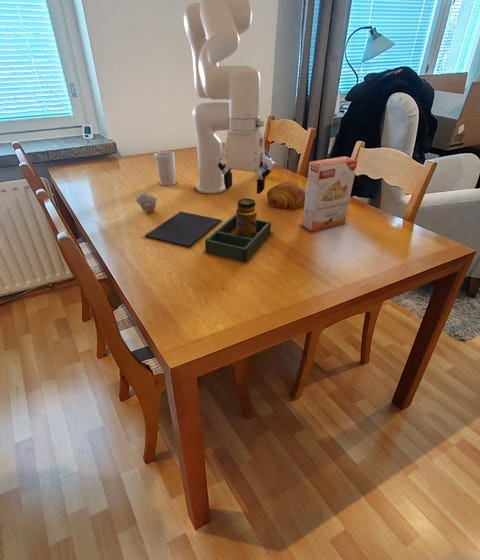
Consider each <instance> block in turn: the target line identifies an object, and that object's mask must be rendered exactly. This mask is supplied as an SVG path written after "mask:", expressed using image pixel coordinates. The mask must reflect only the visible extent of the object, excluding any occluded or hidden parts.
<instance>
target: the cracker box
mask: <svg viewBox="0 0 480 560" xmlns="http://www.w3.org/2000/svg"><path fill="white" fill-rule="evenodd" d="M357 166H358V161H357V160H356V159H354V158H351V157H348V156H338V157H333V158H327V159H319V160H312V161H309V164H308V171H307V179H306V188H305V191H306V195H305V203H304V204H303V213H302V219H301V226H303V227H304V228H306V229H307V230H308V231H310V232H316V231H320V230H324V229H327V228H328V229H329V228H331V227H332V228H333V227H335V226H340V225H344V224H345V223H346V220H347V215H348V209H349V205H350V200H351V196H352V195H351V194H352V190H353V185H354V179H355V176H356V175H355V174H356V170H357Z"/></svg>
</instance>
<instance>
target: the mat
mask: <svg viewBox="0 0 480 560" xmlns="http://www.w3.org/2000/svg"><path fill="white" fill-rule="evenodd" d="M221 222H222V219H219V218H214V217H208V216H205V215H199V214H195V213H191V212H185V211H179V212H178V213H176V214H175V215H173V216H172V217H170V218H169V219H168V220H165V221H164V222H163V223H161V224H160V225H158V226H157V227H156V228H154V229H152V230H151V231H149V232H148V233H146V234H145V235H144V237H145V238H148V239H153V240H156V241H161V242H164V243H168V244H172V245H175V246H176V245H177V246H181V247H184V248H189V249H190V248H191V247H192V246H193V245H195V243H197V242H198V241H199V240H201V239H202V238H203V237H204V236H205V235H206V234H208V233H209V232H210V231H211V230H212V229H214V228H215V227H216V226H217V225H218V224H220V223H221Z"/></svg>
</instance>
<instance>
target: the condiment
mask: <svg viewBox="0 0 480 560" xmlns="http://www.w3.org/2000/svg"><path fill="white" fill-rule="evenodd" d="M236 203H237V204H236V205H237V206H236V207H237V209H236V210H235V215H236V228H235V231H236V232H235V233H234V235H238V236H243V237H247V238H252V239H253V238H254V237H255V236H256V235H257V232H256V219H257V215H258V214H257V212H258V211H257V207H256V200H254V199H253V198H249V197H248V198H247V197H244V198H240V199H238V200H237V202H236Z"/></svg>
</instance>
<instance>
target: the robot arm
mask: <svg viewBox="0 0 480 560" xmlns="http://www.w3.org/2000/svg"><path fill="white" fill-rule="evenodd" d="M252 19H253V11H252V6H251V2H250V0H201V2H193V3H189V4H187V5H186V6H185V8H184V10H183V25H184V31H185V35H186V38H187V40H188V43H189V46H190V49H191V54H192V67H193V68H192V69H193V84H194V91H195V94H196V95H197V97H199V99H209V100H214V101H211V102H200V103H198V104H196V105H195V106H193V108H192V111H191V114H192V116H191V117H192V123H193V127H194V132H195V139H196V152H197V153H196V154H197V167H198V181H199V182H198V183H197V184H195V190H196V191H197V192H199V193H202V194H211V195H212V194H219V193H222V192H225V191H226V190H228V189H230V188H231V187H232V186H233V173H232V170H235V171H243V172H251V173H255V175H256V176H257V180H256V194H258V195H260V194H261V193H262V192H264V190H265V187H266V186H265V185H266V178H267V177H268V175H270V174H271V173H272V171H273V170H274V167H275V165H276V162H275V161H273V160H272V159H271V160H270V159H269V158H267V157H266V156H265V155H264V150H265V142H264V133H263V130H262V129H260V128H264V126H265V122H264V120H261V117H260V102H261V101H260V100H261V99H260V97H261V95H260V94H261V74H260V71H259V70H258V69H256V68H253V67H252V66H250V65H219V63H220V62H222V61H224V60H225V59H227V58H229V57H231V56H233V54H235V52H236V51H237V50H238V47H239V44H240V35H242V34H244V33H245V32H247V31H248V30H249V29H250V26H251V23H252ZM215 100H217V101H215ZM218 100H226V101H218ZM220 131H226V132H227V133H226V136H225V144H224V145H225V146H224V147H225V148H224V152H223V144H222V141H221V138H219V136H218V135H216V133H215V132H220ZM223 159H224V161H223ZM264 163H265V164H266V165H267V166H268V167H267V169H266V171H264V169H263V168H262V167H264Z"/></svg>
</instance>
